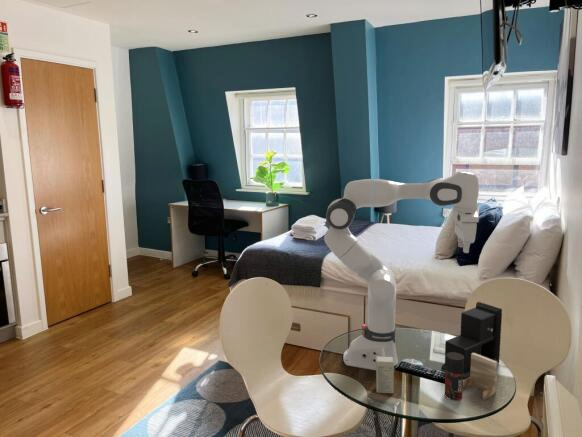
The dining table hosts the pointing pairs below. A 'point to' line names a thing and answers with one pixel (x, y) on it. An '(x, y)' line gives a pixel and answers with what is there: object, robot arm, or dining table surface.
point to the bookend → (477, 335)
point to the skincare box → (384, 374)
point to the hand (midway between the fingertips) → (463, 249)
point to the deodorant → (454, 375)
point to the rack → (482, 375)
